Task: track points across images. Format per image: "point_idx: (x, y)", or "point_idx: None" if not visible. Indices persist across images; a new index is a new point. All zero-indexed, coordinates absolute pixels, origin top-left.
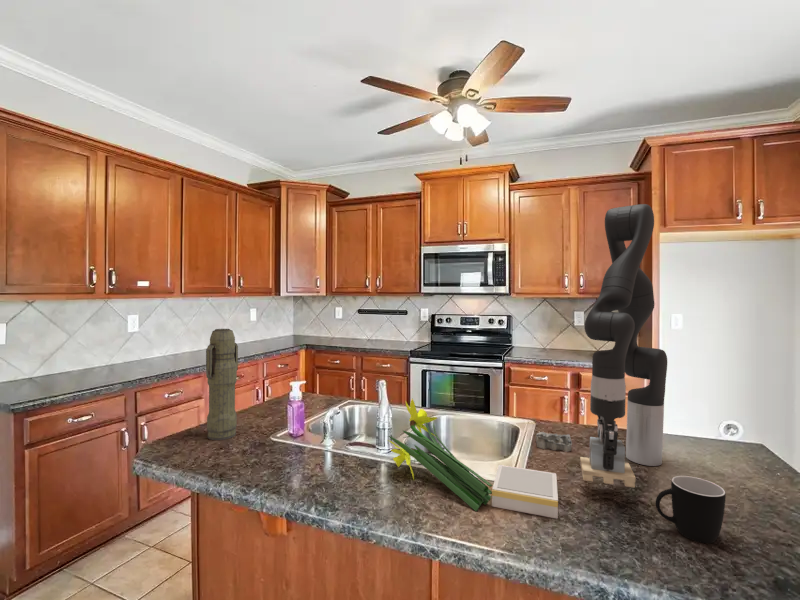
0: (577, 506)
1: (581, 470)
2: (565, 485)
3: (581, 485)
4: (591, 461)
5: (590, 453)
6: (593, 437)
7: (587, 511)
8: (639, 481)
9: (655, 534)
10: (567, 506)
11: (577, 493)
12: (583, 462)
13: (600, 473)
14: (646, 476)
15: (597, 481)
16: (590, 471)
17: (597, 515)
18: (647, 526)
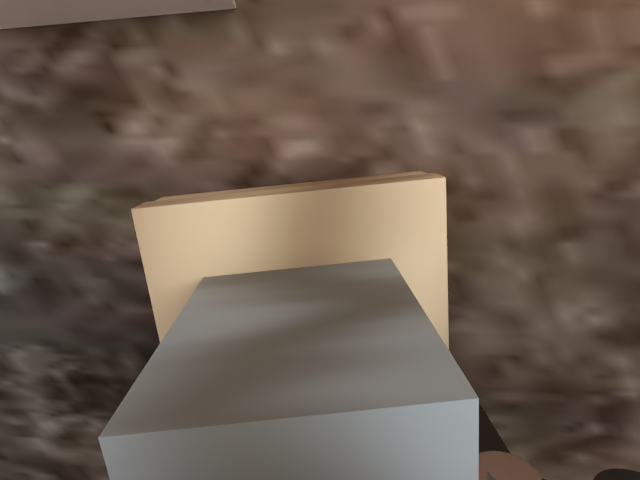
0: (80, 150)
1: (331, 180)
2: (328, 70)
3: (372, 166)
4: (214, 297)
5: (318, 305)
6: (464, 450)
7: (55, 202)
8: (544, 435)
9: (26, 461)
10: (44, 94)
11: (250, 145)
12: (318, 208)
13: (161, 338)
14: (616, 464)
15: (467, 251)
16: (144, 267)
17: (42, 250)
18: (78, 439)
